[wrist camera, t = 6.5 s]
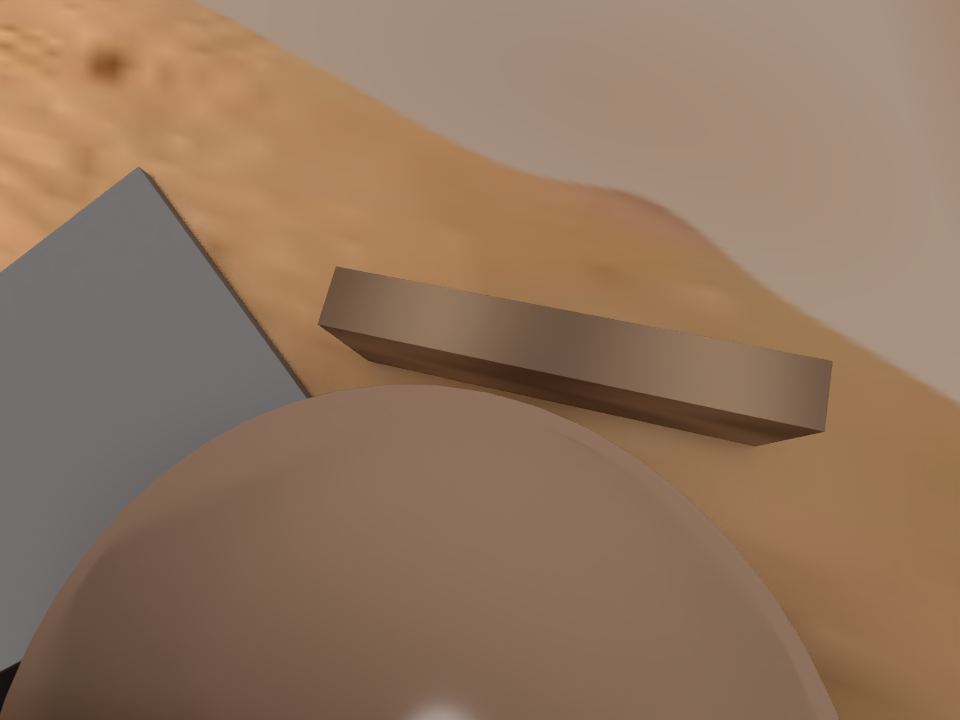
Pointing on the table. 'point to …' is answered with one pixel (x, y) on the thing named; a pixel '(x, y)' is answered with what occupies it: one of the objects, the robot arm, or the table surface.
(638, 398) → the walnut rail
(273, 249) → the table surface
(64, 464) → the dark grey mat
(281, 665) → the terracotta jar
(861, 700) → the table surface
